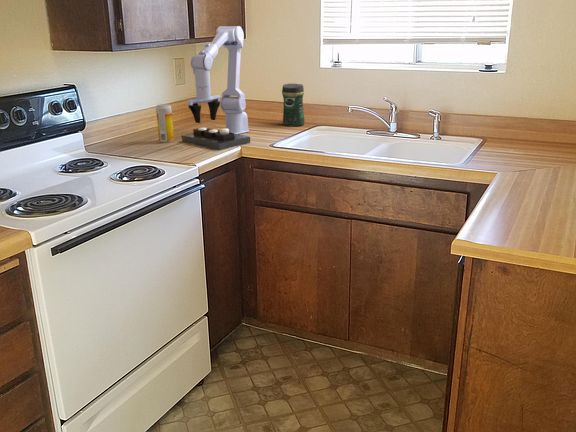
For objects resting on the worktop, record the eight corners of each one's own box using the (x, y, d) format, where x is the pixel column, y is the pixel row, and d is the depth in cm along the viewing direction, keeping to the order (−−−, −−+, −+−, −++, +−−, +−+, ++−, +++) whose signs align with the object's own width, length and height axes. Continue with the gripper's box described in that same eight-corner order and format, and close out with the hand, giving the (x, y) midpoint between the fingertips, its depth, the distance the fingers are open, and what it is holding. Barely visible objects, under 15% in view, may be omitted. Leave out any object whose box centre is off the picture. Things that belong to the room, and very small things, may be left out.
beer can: (176, 139, 243) (172, 103, 237) (171, 143, 237) (168, 106, 232) (161, 139, 243) (158, 103, 238) (157, 143, 238) (153, 106, 232)
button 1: (203, 131, 242) (203, 127, 242) (208, 133, 240) (208, 128, 239) (196, 133, 240) (196, 128, 239) (201, 134, 237) (201, 129, 237)
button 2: (214, 133, 238) (213, 129, 237) (219, 135, 235) (219, 130, 235) (207, 135, 235) (206, 130, 235) (212, 136, 233) (212, 131, 232)
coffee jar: (306, 123, 269) (306, 83, 263) (299, 127, 262) (298, 85, 256) (288, 122, 273) (287, 82, 267) (280, 125, 267) (279, 84, 260)
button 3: (225, 132, 233) (224, 128, 232) (230, 134, 230) (230, 129, 230) (218, 134, 230) (217, 129, 229) (223, 135, 228) (223, 130, 227)
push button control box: (208, 134, 252) (208, 123, 250) (250, 142, 234) (249, 131, 233) (178, 140, 241) (177, 129, 240) (219, 150, 224) (218, 138, 222)
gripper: (211, 83, 234) (213, 117, 238) (181, 87, 224) (184, 122, 229) (222, 84, 229) (224, 119, 234) (192, 89, 219) (195, 125, 224)
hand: (205, 121), depth 231 cm, fingers open, 7 cm apart
